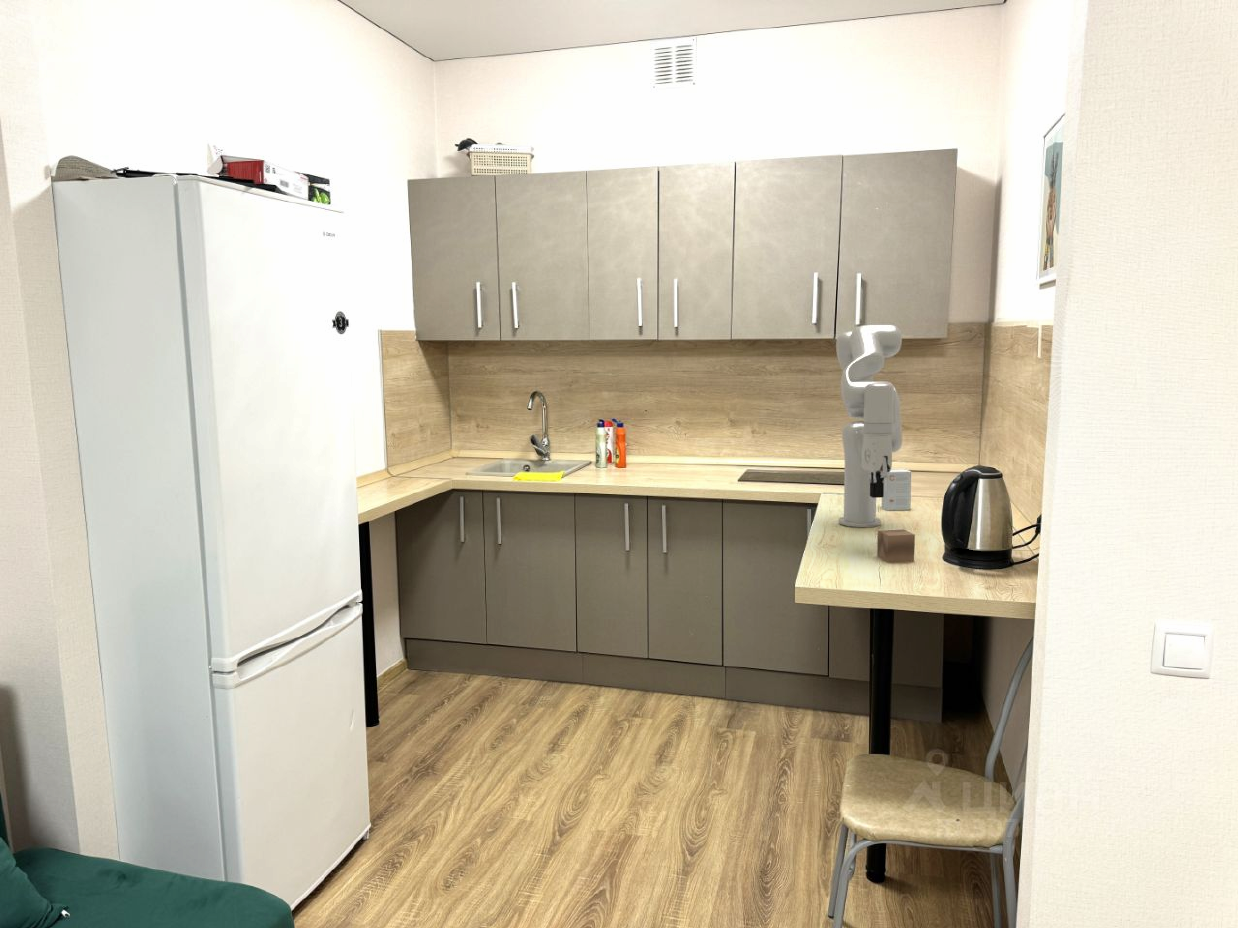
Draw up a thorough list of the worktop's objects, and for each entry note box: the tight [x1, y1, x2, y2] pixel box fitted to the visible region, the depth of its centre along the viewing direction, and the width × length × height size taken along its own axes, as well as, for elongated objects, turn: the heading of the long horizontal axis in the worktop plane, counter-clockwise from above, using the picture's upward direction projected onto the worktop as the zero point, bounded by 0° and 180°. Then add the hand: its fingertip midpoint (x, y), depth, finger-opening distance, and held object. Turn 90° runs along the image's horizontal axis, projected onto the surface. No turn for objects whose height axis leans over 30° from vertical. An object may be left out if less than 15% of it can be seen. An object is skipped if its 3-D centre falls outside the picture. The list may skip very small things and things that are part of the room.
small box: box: [881, 468, 912, 511], centre depth 293 cm, size 8×6×13 cm
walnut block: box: [876, 528, 916, 563], centre depth 227 cm, size 7×7×7 cm
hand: (876, 496), depth 237 cm, fingers closed
